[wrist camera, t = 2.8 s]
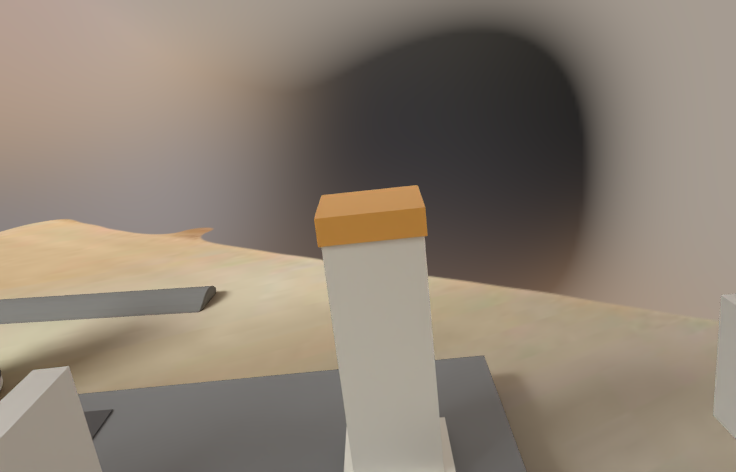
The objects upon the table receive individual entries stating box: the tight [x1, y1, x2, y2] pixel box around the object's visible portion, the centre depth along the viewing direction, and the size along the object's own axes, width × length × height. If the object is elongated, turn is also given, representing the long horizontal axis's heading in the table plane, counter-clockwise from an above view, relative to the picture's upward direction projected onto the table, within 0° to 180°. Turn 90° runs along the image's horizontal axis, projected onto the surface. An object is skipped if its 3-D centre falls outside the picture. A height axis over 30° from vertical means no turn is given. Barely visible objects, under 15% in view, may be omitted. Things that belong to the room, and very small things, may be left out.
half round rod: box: [0, 286, 216, 324], centre depth 50 cm, size 4×20×2 cm, turn 85°
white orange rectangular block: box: [314, 185, 456, 472], centre depth 23 cm, size 4×4×11 cm
